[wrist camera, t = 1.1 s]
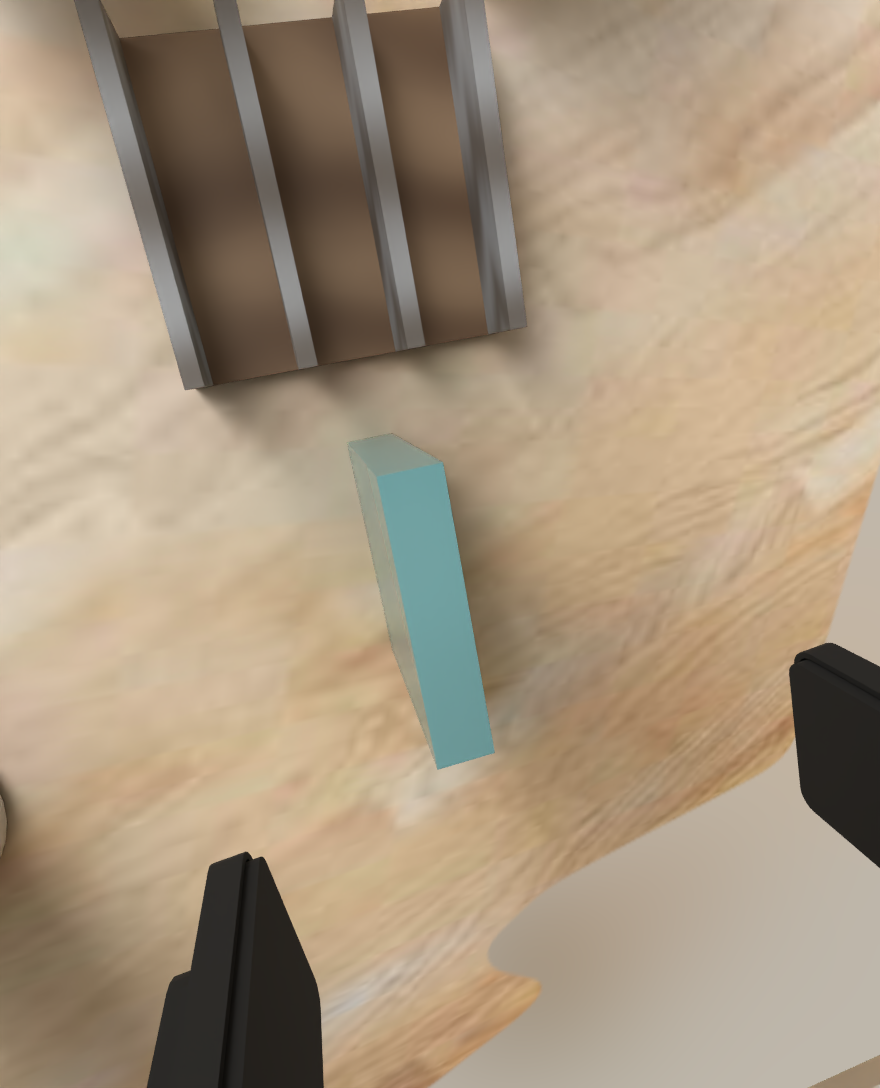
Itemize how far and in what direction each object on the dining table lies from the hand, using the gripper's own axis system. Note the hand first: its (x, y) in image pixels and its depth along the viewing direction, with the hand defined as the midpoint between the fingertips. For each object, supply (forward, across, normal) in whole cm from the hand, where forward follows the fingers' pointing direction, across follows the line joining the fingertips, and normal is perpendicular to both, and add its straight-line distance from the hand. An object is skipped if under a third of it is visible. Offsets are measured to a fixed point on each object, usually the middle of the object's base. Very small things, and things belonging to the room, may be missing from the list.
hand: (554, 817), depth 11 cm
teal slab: (+26, 0, +2) cm, 26 cm away
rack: (+26, -2, -15) cm, 30 cm away
